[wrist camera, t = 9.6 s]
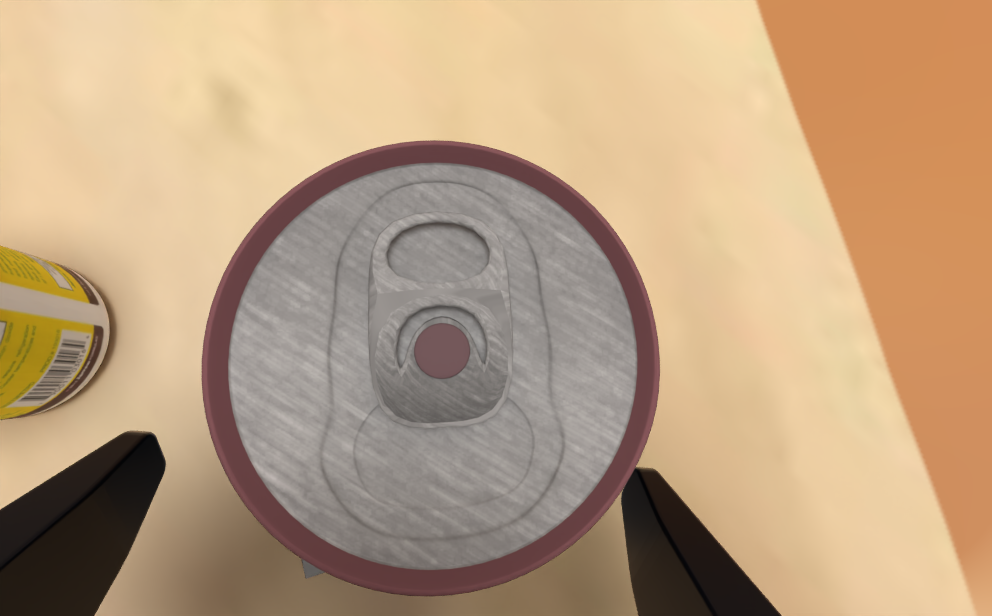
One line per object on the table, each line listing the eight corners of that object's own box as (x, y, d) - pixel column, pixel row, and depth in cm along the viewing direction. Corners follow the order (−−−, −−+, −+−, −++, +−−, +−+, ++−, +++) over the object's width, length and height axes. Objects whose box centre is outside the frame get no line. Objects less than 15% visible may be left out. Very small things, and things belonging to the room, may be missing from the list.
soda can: (541, 465, 17) (740, 622, 6) (348, 480, 17) (119, 697, 5) (528, 282, 19) (673, 100, 7) (347, 288, 18) (161, 92, 6)
